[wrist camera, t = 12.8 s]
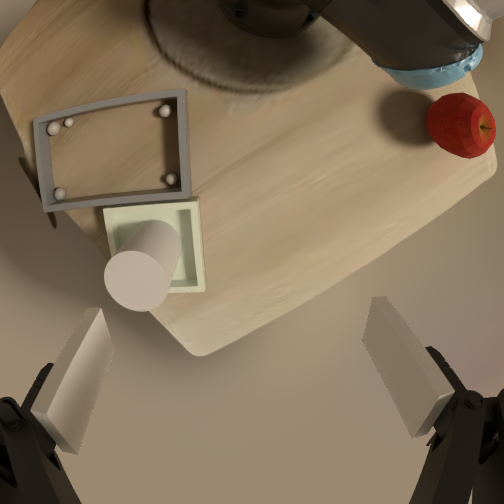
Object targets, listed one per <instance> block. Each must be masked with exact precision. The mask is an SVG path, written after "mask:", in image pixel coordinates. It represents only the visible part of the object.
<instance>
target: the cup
mask: <svg viewBox="0 0 504 504" xmlns="http://www.w3.org/2000/svg"><path fill="white" fill-rule="evenodd" d="M181 250H182V242H181V238H180V236H179V234H178V232H177V231H176V230H175V228H174V227H172V226H171V225H170V224H168V223H166V222H164V221H161V220H148V221H145V222H143V223H141V224H140V225H138V226H137V228H136V229H135V230H134V231H133V232H132V233H131V235H130V236H129V237H128V238H127V239H126V241H125V242H124V243H123V244H122V245H121V247H120V248H119V249H118V250H117V252H116V253H115V254H114V255H113V257H112V258H111V259H110V260H109V262H108V263H107V265H106V268H105V272H104V280H105V285H106V287H107V290H108V292H109V293H110V295H111V296H112V298H113V299H114V300H115V301H117V302H118V303H119V304H121V305H122V306H124V307H125V308H128V309H131V310H134V311H149V310H152V309H154V308H156V307H158V306H159V305H160V304H161V303H162V302H163V301H164V300H165V298H166V296H167V293H168V290H169V287H170V284H171V281H172V278H173V275H174V272H175V269H176V266H177V263H178V260H179V257H180V254H181Z"/></svg>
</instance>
